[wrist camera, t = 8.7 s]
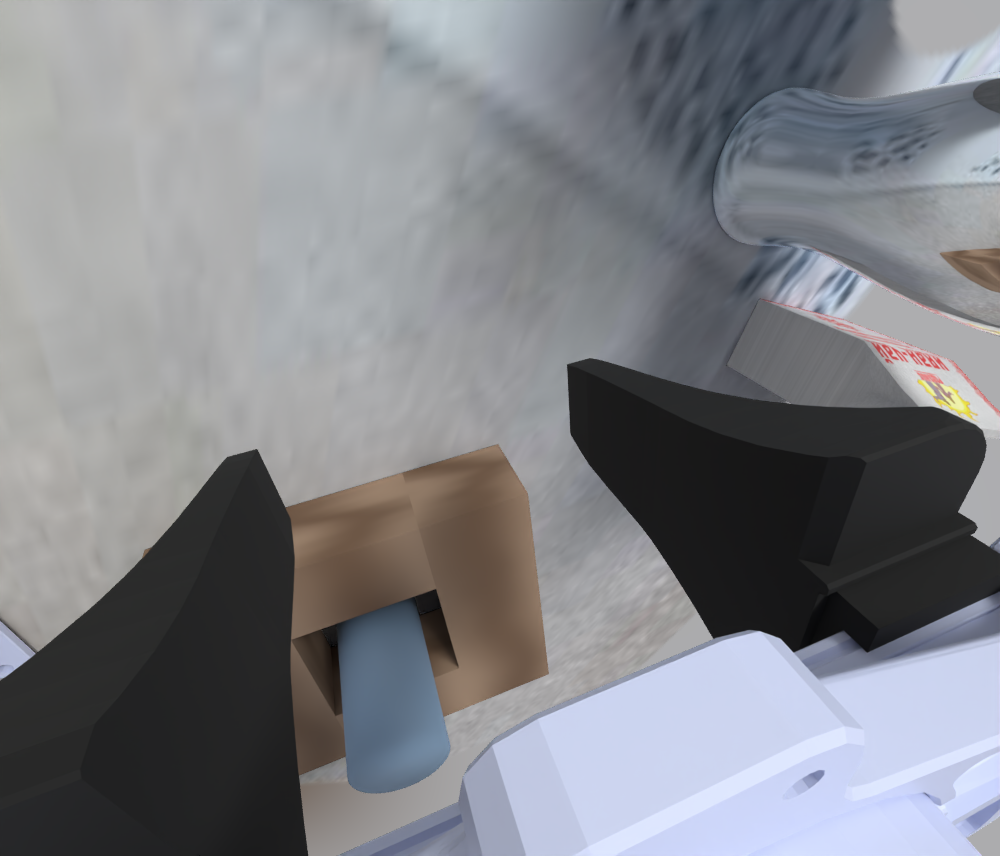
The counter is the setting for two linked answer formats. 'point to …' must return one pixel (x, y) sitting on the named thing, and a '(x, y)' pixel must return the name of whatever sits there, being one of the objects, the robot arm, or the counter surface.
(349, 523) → the socket board
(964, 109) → the silver metal tumbler
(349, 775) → the peg
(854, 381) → the grey angular block
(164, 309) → the counter surface
